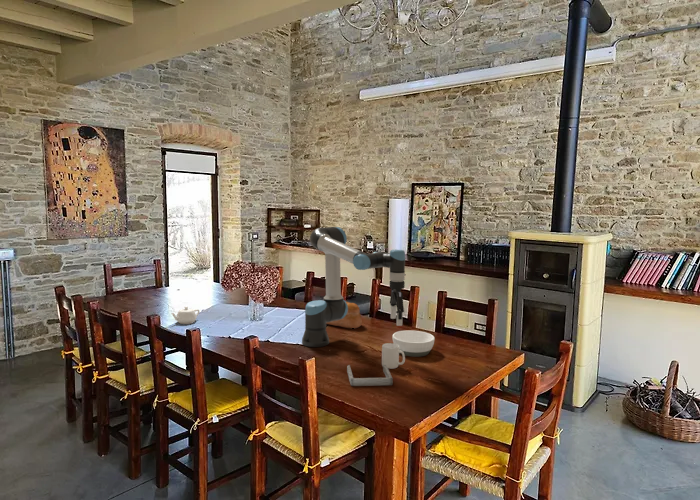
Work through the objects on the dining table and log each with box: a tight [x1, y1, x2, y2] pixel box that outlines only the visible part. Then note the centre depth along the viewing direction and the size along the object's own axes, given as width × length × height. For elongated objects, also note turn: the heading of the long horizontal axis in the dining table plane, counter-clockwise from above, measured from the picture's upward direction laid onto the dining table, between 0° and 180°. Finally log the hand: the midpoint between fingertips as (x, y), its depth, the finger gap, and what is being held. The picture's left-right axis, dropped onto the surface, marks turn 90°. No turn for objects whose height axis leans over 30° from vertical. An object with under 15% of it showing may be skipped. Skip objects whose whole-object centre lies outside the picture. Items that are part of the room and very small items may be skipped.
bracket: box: [346, 364, 394, 387], centre depth 209 cm, size 18×17×3 cm
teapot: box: [171, 306, 200, 325], centre depth 294 cm, size 20×12×10 cm, turn 142°
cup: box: [381, 342, 406, 370], centre depth 223 cm, size 8×12×10 cm
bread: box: [326, 301, 363, 329], centre depth 296 cm, size 14×26×15 cm, turn 59°
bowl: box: [392, 329, 435, 358], centre depth 247 cm, size 22×22×8 cm
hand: (396, 321), depth 233 cm, fingers open, 13 cm apart
